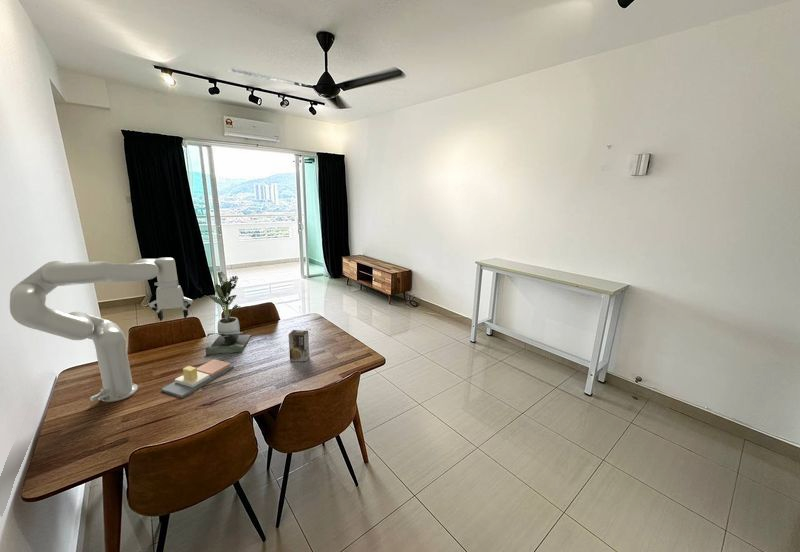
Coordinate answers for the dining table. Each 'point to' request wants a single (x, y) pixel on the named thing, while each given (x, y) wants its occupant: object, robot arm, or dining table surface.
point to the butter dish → (191, 377)
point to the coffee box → (299, 345)
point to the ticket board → (211, 368)
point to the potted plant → (227, 322)
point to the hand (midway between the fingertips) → (173, 318)
